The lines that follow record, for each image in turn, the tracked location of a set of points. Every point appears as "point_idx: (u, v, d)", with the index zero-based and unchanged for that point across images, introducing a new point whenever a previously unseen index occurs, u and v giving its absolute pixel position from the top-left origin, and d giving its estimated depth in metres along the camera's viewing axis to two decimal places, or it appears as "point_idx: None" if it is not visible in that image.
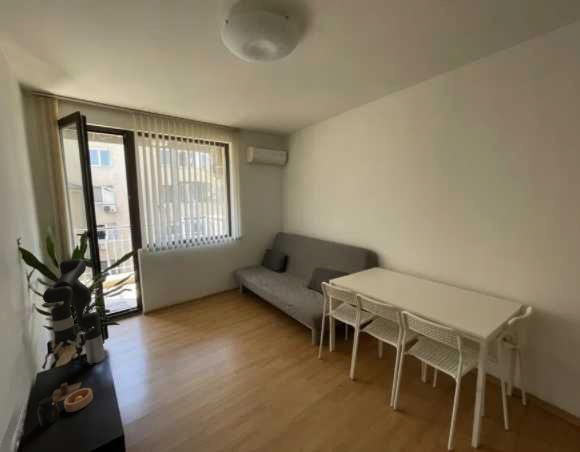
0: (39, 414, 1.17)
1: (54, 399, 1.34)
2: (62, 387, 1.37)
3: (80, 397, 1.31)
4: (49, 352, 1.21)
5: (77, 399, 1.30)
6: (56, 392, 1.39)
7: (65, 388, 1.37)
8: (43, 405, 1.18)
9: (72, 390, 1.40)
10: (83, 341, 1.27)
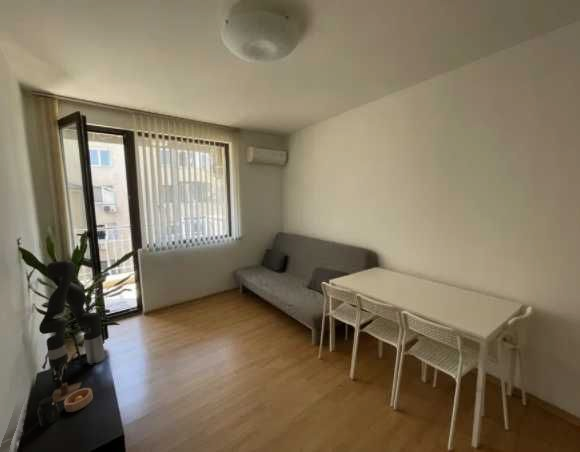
0: (39, 414, 1.17)
1: (54, 399, 1.34)
2: (62, 387, 1.37)
3: (80, 397, 1.31)
4: (59, 379, 1.31)
5: (77, 399, 1.30)
6: (56, 392, 1.39)
7: (65, 388, 1.37)
8: (43, 405, 1.18)
9: (72, 390, 1.40)
10: (67, 363, 1.43)
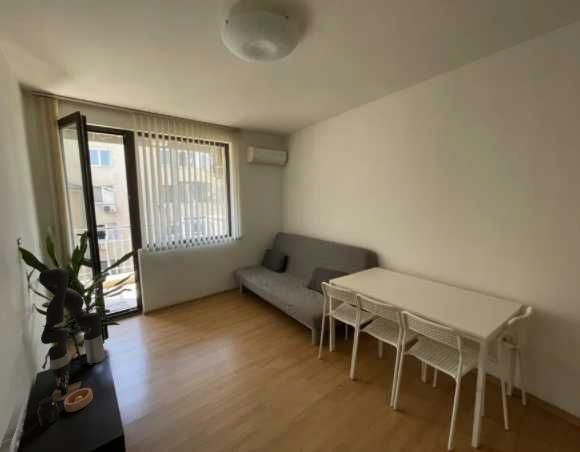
0: (39, 414, 1.17)
1: (54, 399, 1.34)
2: None
3: (80, 397, 1.31)
4: (64, 387, 1.35)
5: (77, 399, 1.30)
6: (56, 392, 1.39)
7: None
8: (43, 405, 1.18)
9: (72, 390, 1.40)
10: (68, 376, 1.42)
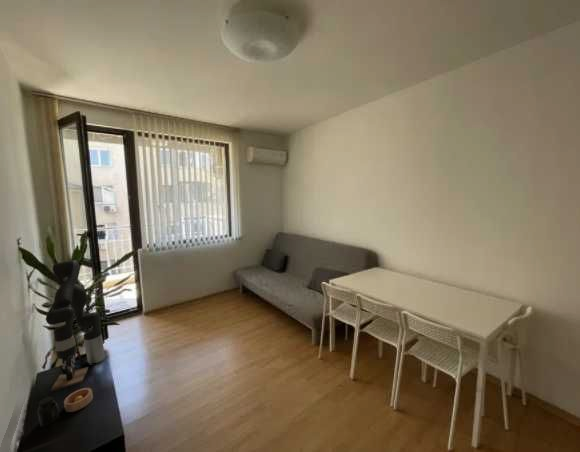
0: (39, 414, 1.17)
1: (59, 384, 1.25)
2: None
3: (80, 397, 1.31)
4: (70, 371, 1.26)
5: (77, 399, 1.30)
6: (61, 377, 1.30)
7: None
8: (43, 405, 1.18)
9: (78, 375, 1.31)
10: (74, 360, 1.33)
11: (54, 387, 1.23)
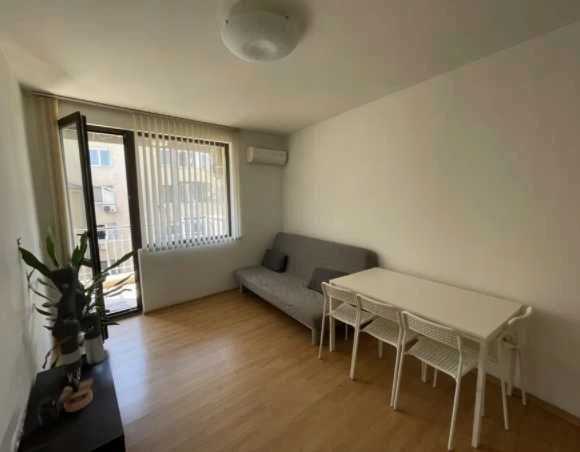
0: (39, 414, 1.17)
1: (65, 396, 1.26)
2: None
3: (80, 397, 1.31)
4: (76, 383, 1.27)
5: (77, 399, 1.30)
6: (67, 389, 1.31)
7: None
8: (43, 405, 1.18)
9: (84, 387, 1.32)
10: (80, 372, 1.34)
11: (61, 400, 1.24)
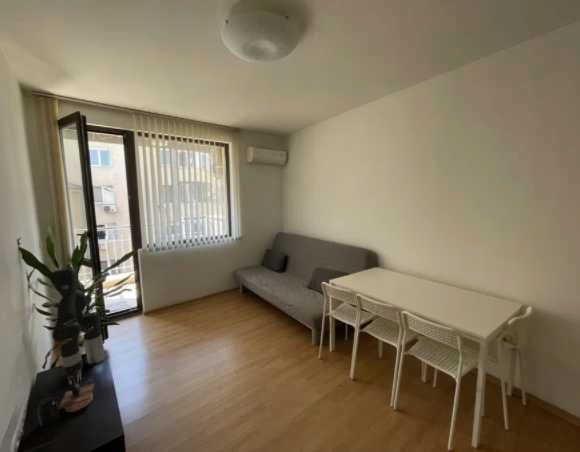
0: (39, 414, 1.17)
1: (66, 401, 1.26)
2: None
3: None
4: (75, 387, 1.26)
5: None
6: (68, 394, 1.31)
7: (78, 390, 1.30)
8: (43, 405, 1.18)
9: (85, 392, 1.32)
10: None
11: (62, 405, 1.24)
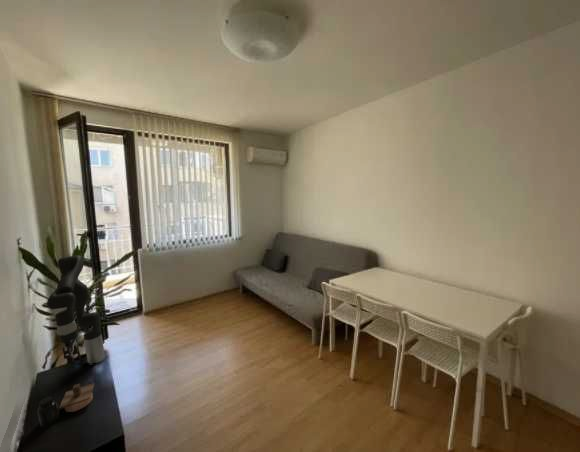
0: (39, 414, 1.17)
1: (66, 401, 1.26)
2: (75, 389, 1.29)
3: None
4: (70, 355, 1.26)
5: None
6: (68, 394, 1.31)
7: (78, 390, 1.30)
8: (43, 405, 1.18)
9: (85, 392, 1.32)
10: (76, 340, 1.38)
11: (62, 405, 1.24)
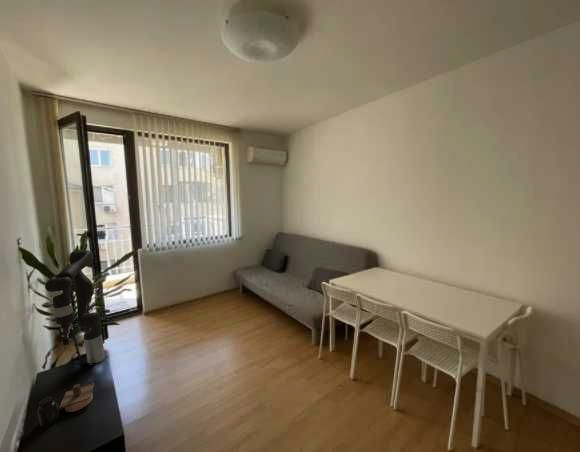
0: (39, 414, 1.17)
1: (66, 401, 1.26)
2: (75, 389, 1.29)
3: None
4: (66, 336, 1.32)
5: None
6: (68, 394, 1.31)
7: (78, 390, 1.30)
8: (43, 405, 1.18)
9: (85, 392, 1.32)
10: (73, 324, 1.44)
11: (62, 405, 1.24)
